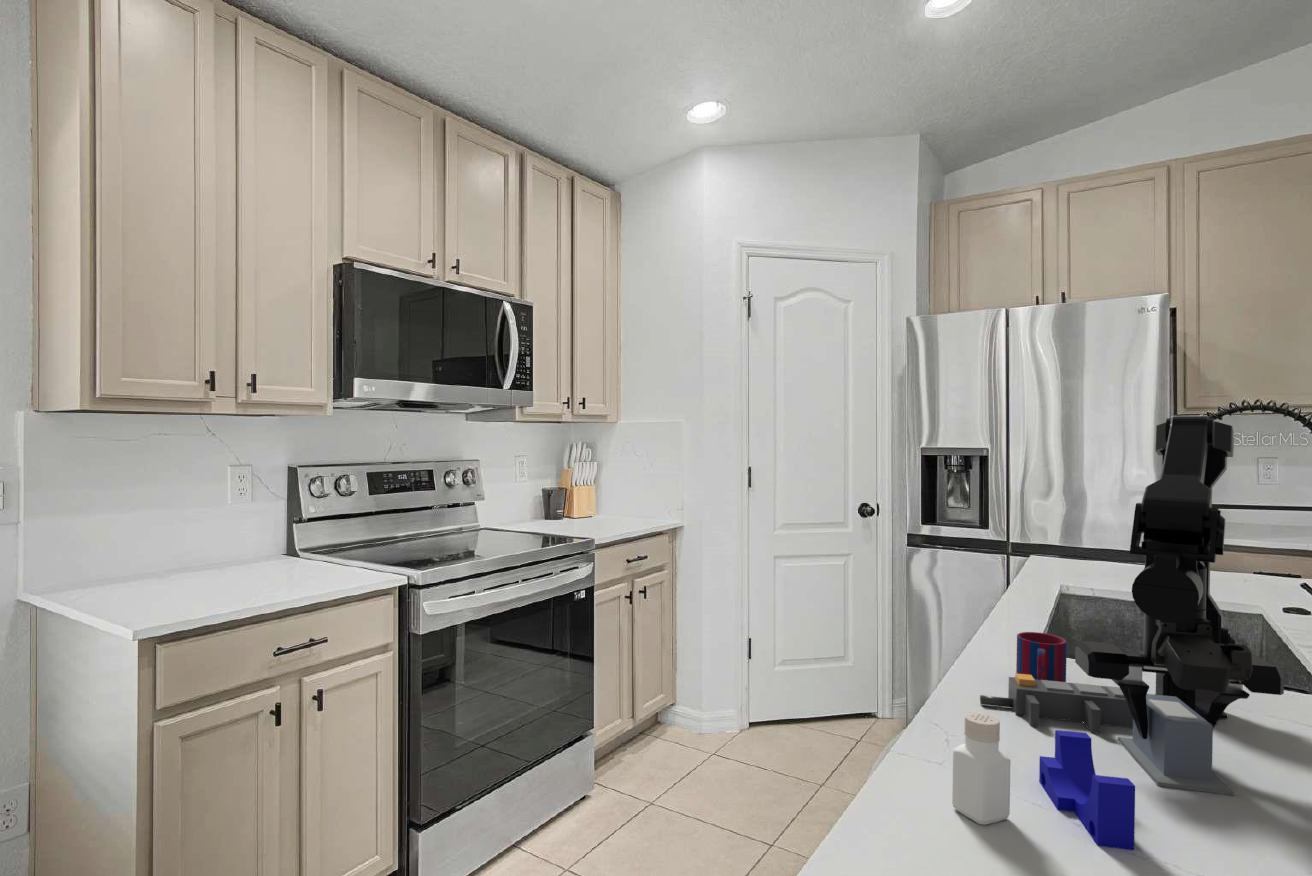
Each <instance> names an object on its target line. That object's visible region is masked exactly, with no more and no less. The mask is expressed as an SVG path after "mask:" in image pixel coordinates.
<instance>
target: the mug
mask: <svg viewBox="0 0 1312 876" xmlns="http://www.w3.org/2000/svg"><path fill="white" fill-rule="evenodd" d="M1067 642H1068V641H1067V640H1066V639H1065V638H1063V637H1061V636H1057V635H1054V634H1050V633H1045V632H1038V631H1037V632H1036V631H1033V632H1032V631H1025V632H1023V631H1022V632H1019V633H1017V634H1016V664H1015V665H1016V666H1015V667H1016V669H1015V670H1016V671H1015V673H1017V674H1027V675H1032V677H1033V678H1034V679H1036V680H1048V681H1059V682H1067V646H1068V645H1067V644H1068V643H1067Z"/></svg>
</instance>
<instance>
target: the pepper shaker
mask: <svg viewBox="0 0 1312 876" xmlns="http://www.w3.org/2000/svg"><path fill="white" fill-rule="evenodd" d="M1000 730H1001V721H1000V719H998V717H995V716H994V715H991V714H988V713H985V712H979V711H978V712H977V711H975V712H968V713H965V714H964V731H963V735H964V743H962V744H960V745H958V746H956V747H955V748H954V749H953V751H952V752H953V753H952V794H951V795H952V802H951V803H952V807H953V808H954V809H955V810H956V811H958V812H959V813H960V814H962V815H964V816H966V817H967V818H969V819H971V820H972V821H974V823H975V822H976V823H977V824H978V825H985V826H986V825H989V824H993V823H997V822H1000V821H1004V820H1007V819H1008V818H1009V816H1010V813H1011V811H1010V810H1011V809H1010V806H1011V801H1010V799H1011V759H1010V758H1009V756H1008V754H1006V753H1004V752H1003V751H1002V750H1000V749H999V747H1000V745H999V744H1000V741H1001V737H1000V736H1001V734H1000Z"/></svg>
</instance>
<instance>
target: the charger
mask: <svg viewBox="0 0 1312 876" xmlns="http://www.w3.org/2000/svg"><path fill="white" fill-rule="evenodd" d="M1146 703H1147V717H1148V735H1147V739H1143V738H1142V737H1141V736H1140V734H1139V732H1138V729H1137V727H1136V724H1135V722H1134V719H1133V728H1132V739H1133V743H1134V744H1135V745H1136V746H1137V747H1138V748H1139V749H1140V750H1141V751H1142V752H1143V753H1144V754H1145V755H1146V757H1147V758H1148V759H1149V760H1150V761H1151V762H1152V763H1153V764H1154V765H1155V766H1156V767H1157V768H1158V769H1159V771H1160V772H1161V773H1162V774H1163V775H1165V776H1173V777H1182V778H1190V779H1198V780H1206V781H1212V771H1213V748H1214V747H1213V740H1214V739H1213V738H1214V737H1213V736H1214V729H1213V726H1212V725H1211V724H1210V723H1209V722H1207V721H1206V720H1205V719H1204V718H1202V717H1201V716H1200V715H1199V714H1197V713H1196V712H1195V711H1194V710H1192V709H1191V708H1190V707H1189V706H1187V705H1186V704H1185V703H1184V702H1182V701H1181V700H1180V699H1178V698H1177V697H1174V696H1164V695H1155V694H1154V693H1152V694H1151V693H1147V695H1146Z"/></svg>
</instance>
